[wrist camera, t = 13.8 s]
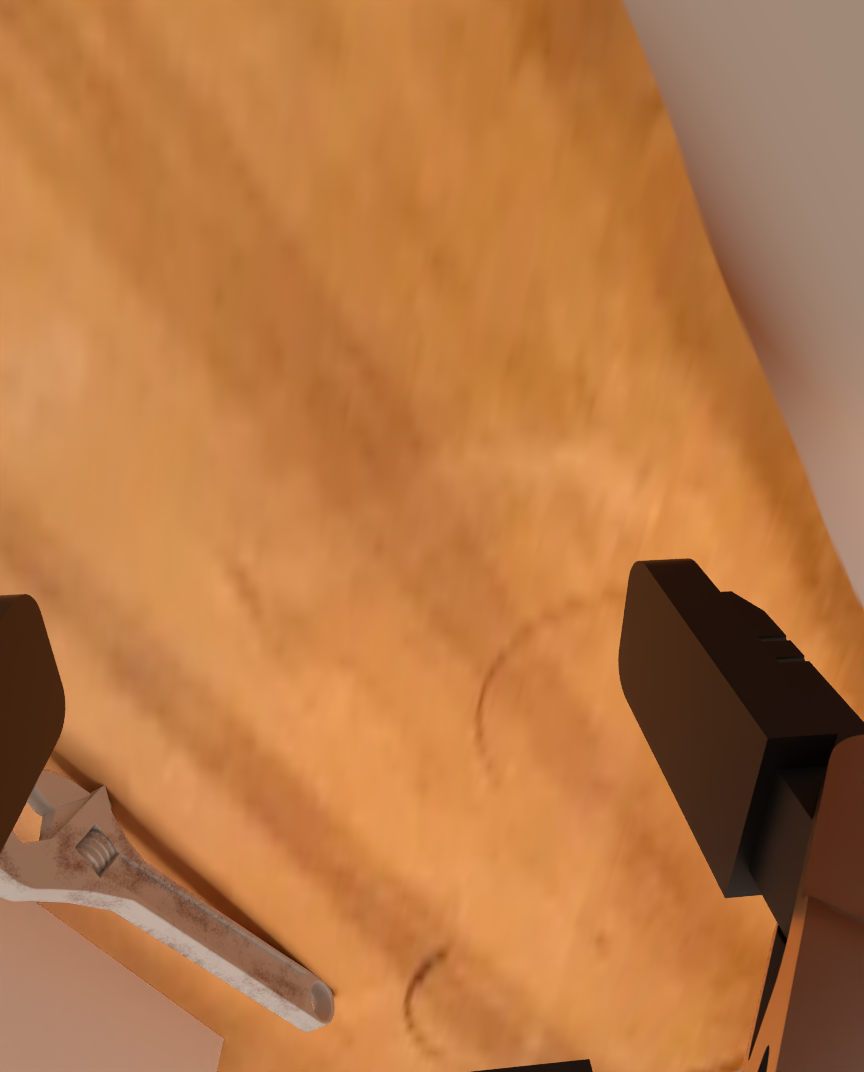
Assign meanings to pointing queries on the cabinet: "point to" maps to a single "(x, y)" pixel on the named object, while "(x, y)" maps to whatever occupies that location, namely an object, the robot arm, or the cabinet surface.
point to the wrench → (148, 899)
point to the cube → (85, 1006)
